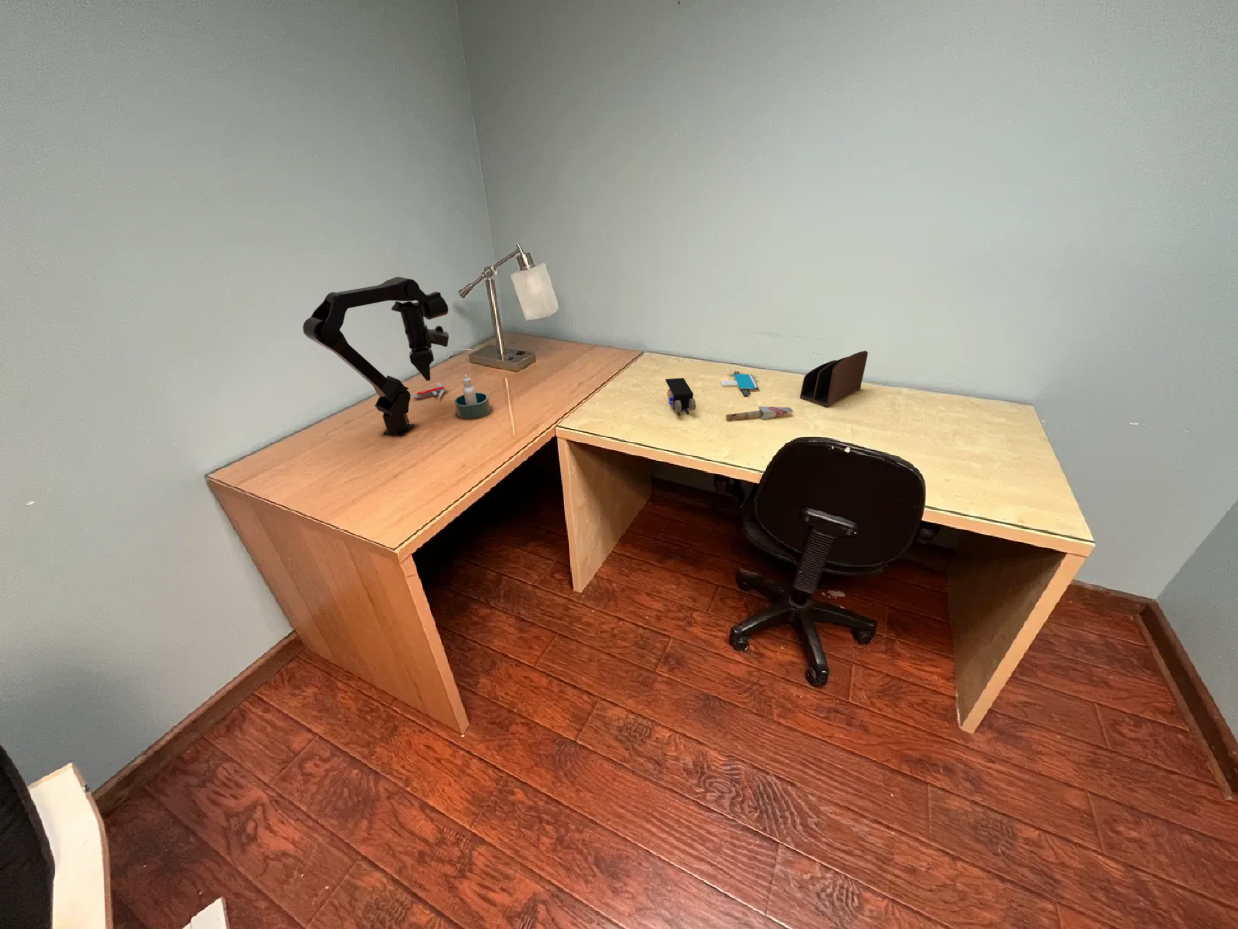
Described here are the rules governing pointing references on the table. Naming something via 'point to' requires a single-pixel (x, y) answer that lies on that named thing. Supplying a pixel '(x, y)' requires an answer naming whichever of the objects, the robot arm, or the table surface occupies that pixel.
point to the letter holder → (834, 380)
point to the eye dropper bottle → (469, 391)
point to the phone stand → (742, 383)
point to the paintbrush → (761, 413)
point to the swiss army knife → (431, 392)
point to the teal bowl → (472, 407)
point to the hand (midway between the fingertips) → (427, 375)
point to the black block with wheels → (680, 395)
